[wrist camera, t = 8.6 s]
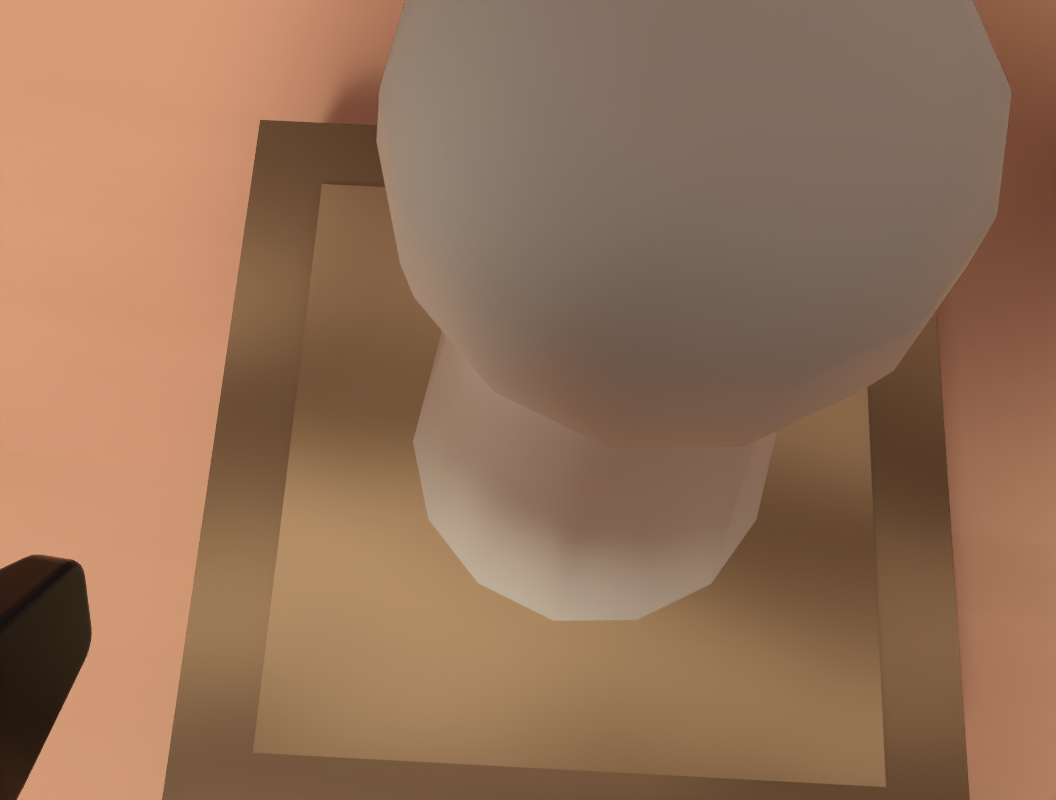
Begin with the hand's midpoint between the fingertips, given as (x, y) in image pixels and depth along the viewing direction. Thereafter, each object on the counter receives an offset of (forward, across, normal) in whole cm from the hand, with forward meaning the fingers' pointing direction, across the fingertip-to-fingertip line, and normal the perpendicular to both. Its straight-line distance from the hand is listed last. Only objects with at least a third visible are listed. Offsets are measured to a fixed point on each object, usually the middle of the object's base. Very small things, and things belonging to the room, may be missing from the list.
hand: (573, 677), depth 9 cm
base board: (+12, 0, +6) cm, 13 cm away
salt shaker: (+9, 0, +4) cm, 10 cm away
